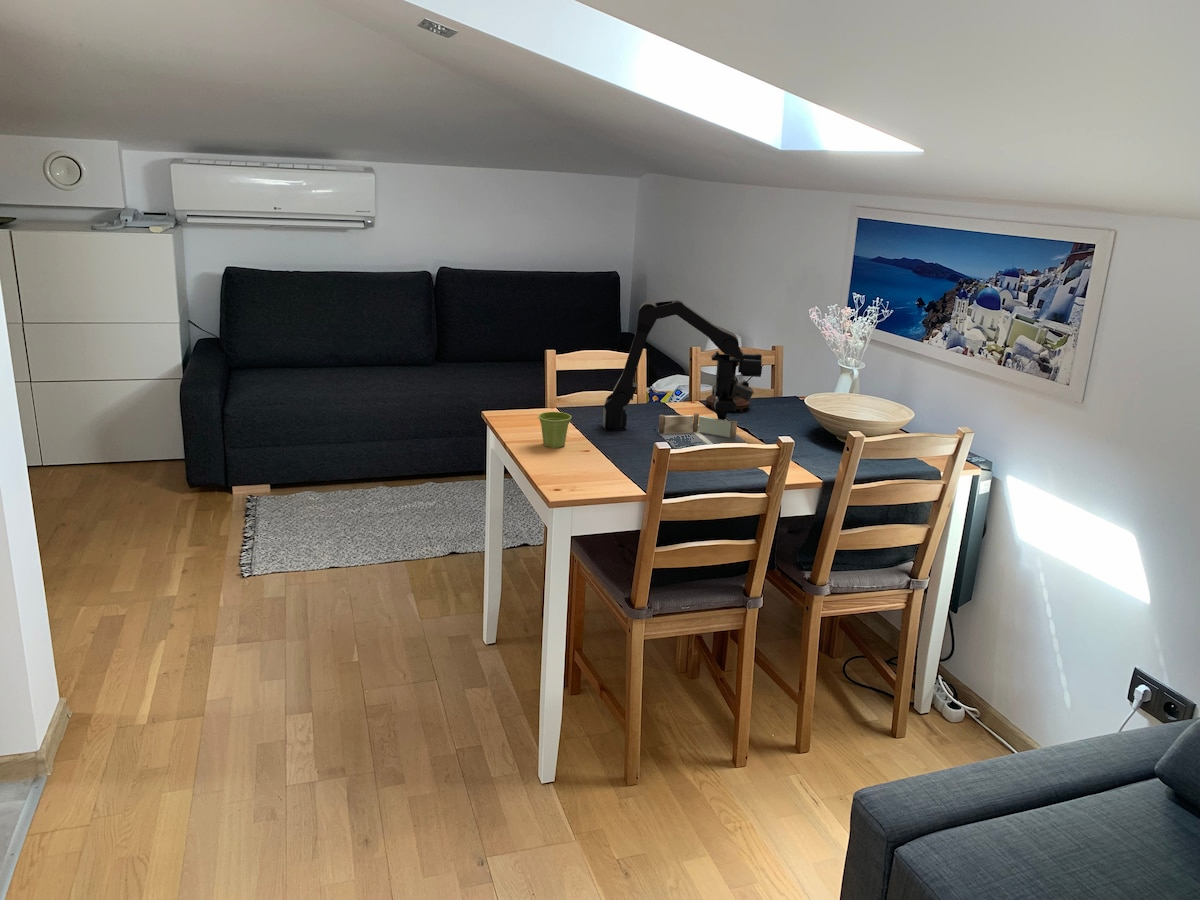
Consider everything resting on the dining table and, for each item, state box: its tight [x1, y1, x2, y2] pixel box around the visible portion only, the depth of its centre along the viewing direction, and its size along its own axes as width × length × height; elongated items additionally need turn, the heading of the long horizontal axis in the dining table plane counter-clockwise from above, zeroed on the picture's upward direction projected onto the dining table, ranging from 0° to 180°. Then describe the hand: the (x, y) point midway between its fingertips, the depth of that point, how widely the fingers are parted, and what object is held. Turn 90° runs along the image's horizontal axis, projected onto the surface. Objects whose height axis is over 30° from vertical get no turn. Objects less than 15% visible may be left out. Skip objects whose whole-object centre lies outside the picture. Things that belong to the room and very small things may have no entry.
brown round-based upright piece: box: [705, 353, 751, 413], centre depth 311 cm, size 15×15×20 cm
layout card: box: [658, 426, 749, 449], centre depth 279 cm, size 24×21×1 cm
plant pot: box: [537, 411, 572, 449], centre depth 263 cm, size 9×9×9 cm
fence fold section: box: [698, 415, 738, 438], centre depth 280 cm, size 12×2×5 cm, turn 64°
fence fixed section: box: [657, 412, 700, 434], centre depth 282 cm, size 13×2×6 cm, turn 105°
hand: (721, 424), depth 282 cm, fingers closed
